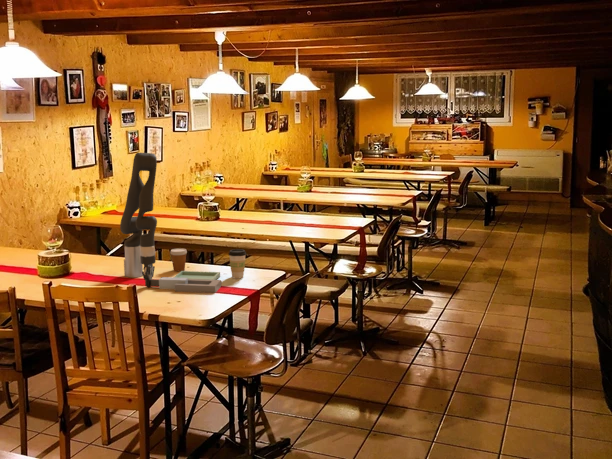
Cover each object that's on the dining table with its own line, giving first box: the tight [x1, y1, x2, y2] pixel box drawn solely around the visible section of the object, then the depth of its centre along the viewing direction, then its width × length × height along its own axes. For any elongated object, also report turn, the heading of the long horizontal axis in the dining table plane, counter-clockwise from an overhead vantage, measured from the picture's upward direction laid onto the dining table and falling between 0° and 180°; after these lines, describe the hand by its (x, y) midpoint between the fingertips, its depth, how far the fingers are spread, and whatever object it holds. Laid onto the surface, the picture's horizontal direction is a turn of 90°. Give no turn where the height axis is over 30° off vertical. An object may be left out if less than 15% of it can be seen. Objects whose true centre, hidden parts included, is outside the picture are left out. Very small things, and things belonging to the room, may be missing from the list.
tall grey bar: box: [144, 276, 188, 290], centre depth 326 cm, size 22×5×5 cm, turn 85°
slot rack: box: [174, 279, 222, 294], centre depth 323 cm, size 21×12×4 cm, turn 84°
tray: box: [174, 270, 221, 280], centre depth 342 cm, size 22×16×2 cm
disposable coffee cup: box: [169, 248, 188, 273], centre depth 361 cm, size 10×10×12 cm
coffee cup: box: [228, 248, 247, 280], centre depth 346 cm, size 10×10×15 cm
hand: (149, 286), depth 327 cm, fingers closed
